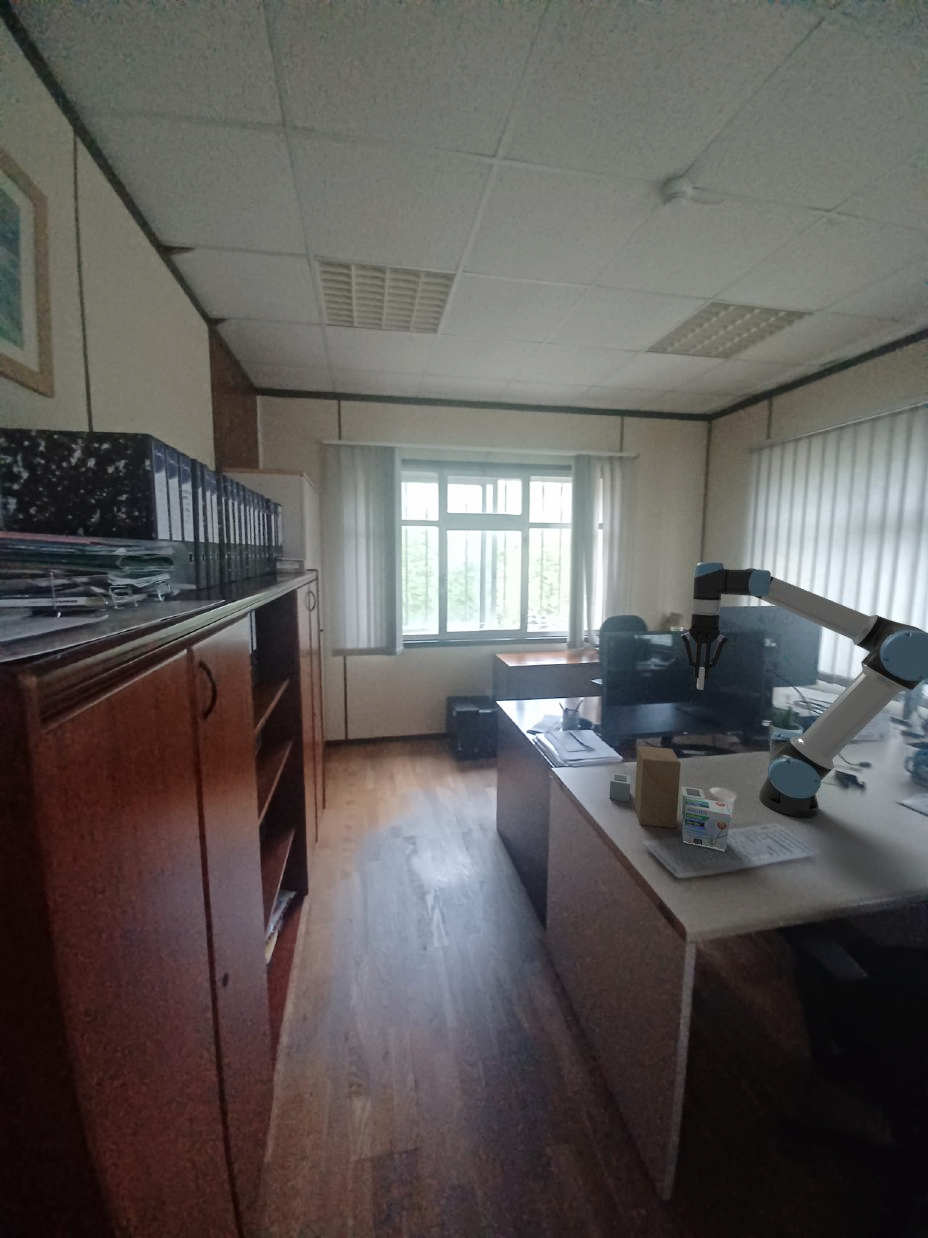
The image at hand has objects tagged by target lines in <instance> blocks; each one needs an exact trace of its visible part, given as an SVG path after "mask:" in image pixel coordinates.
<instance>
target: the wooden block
mask: <svg viewBox="0 0 928 1238" xmlns="http://www.w3.org/2000/svg"><path fill="white" fill-rule="evenodd" d="M636 753H637V754H636V769H635V771H636V773H635V789H634V803H633V804H634V805H633V807H634V809H635V813H636V816H637V819H638V823H639V825H642V826H650V827H651V826H653V827H661V828H669V829H676V828H677V819H678V808H679V807H678V804H679V788H680V776H681V761H680V760H679V758H678V756H677V754H676V753H675V752H674V749H673V748H667V747H655V746H645V745H644V746H640V745H638V746H637V752H636Z"/></svg>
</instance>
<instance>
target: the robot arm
mask: <svg viewBox="0 0 928 1238" xmlns="http://www.w3.org/2000/svg"><path fill="white" fill-rule="evenodd" d="M694 571H695V572H694V577H693V593H692V608H691V609H692V610H691V611H692V612H693V613H692V614H691V620H690V621H691V622H690V628H689V629H688V632H686V633H681V634H680V637H681V639H682V641H683V643H684V647H685V652H686V659H687V664H688V665H689V666H691V667H693V668H694V669H693V677H694V679H697V682H696V689H697V690H700V691H701V690H702V691H703V690H704V686H705V680H709V679H708V678H709V670H710V669H711V668H712V669H713V668H716V667H717V664H718V662H719V659H720V656H721V653H722V651H723V647H724V645H725V644H726V643H727V642H728V640H729V638H728V637H727V636H724V635H723V634H721V630H720V629H719V628H720V614H719V613H721V600H722V595H728V596H729V595H731V596H733V595H734V596H746V597H747V596H750V597H751V596H752V597H754V598H756V599H759V600H762V601H764V602H766V603H769V604H771V605H773V606H775V607H777V608H780V609H782V610H784V611H787V612H789V613H791V614H794V615H796V616H797V617H800V618H802V619H804V620H807V621H809V622H812V623H814V624H815V625H818V626H821V627H823V628H824V629H827V630H830V631H832V632H834V633H837V634H839V635H840V636H843V637H845V638H848V639H850V640H852V643H853V644H854V645H855V646H856V647H859V648H861V649H863V650H865V651H867V652H868V654H867V655H866V656H865V657H864V658H863V659H862V660H861V662H860V663H861V667H862V670H861V671H860V673H859V674H858V675H857V676H856V677H855V678H854V679H853V680H852V682H851V683H850V684H848V686H847V687H846V688H845V689H844V690H843V691H842V692H841V693H840V694H839V695H838V696H837V698H836V699H835V700H833V701H832V703H831V704H830V705H829V706H828V707H827V708H826V709H825V710H824V711H823V712H822V713H821V715H819V717H818V718H817V719H816V720H815V721H814V722H813V723H812V724H811V725H810V726H809V727H808V729H806V731H805V732H804V733H800V732H795V731H794V732H793V731H789V730H788V731H787V730H777V731H774V732H772V735H771V738H770V740H771V742H770V752H769V753H770V755H769V760H768V761H769V763H768V767H767V777H766V778H765V781H764V783H763V785H762V786H761V788H760V790H759V800H760V802H761V803H762V804H763V805H764V806H766V807H767V808H770V809H771V810H773V811H775V812H777V813H780V814H783V815H786V816H791V817H795V818H796V817H797V818H804V819H805V818H806V819H807V818H813V817H816V816H817V815H818V814H819V802H818V799H817V795H816V794H817V793H818V792H819V789H820V788H821V786H822V781H823V779H824V778H826V777H827V776H828V774H829V773H830V772H831V771H833V770H834V769H835V765H834V761H833V760H834V759H835V757H836V756H838V755H839V754H840V753H841V751H843V749H845V747H846V746H848V744H849V743H850V742H852V741H853V739H855V737H857V736H858V735H859V734H860V733H861V731H863V729H865V728H866V727H867V726H868V724H870V722H871V721H873V719H874V718H875V717H877V716H878V715H879V714H880V713H881V712H882V710H883V709H885V707H886V706H887V705H888V704H890V702H891V701H892V700H894V699H895V698H896V696H897V695H899V694H900V693H903V692H913V690H914V689H915V688H916V687H917V686H919V685H920V684H921V682H922V681H924V680H928V631H925V630H923V629H921V628H919V627H917V626H914V625H911V624H905V623H901V622H898V621H895V620H891V619H887V618H885V617H884V616H883V617H882V616H880V615H878V614H874V615H868V614H865V613H862V612H860V611H858V610H855V609H853V608H851V607H849V606H846V605H843V604H841V603H838V602H836V601H834V600H831V599H828V598H826V597H824V596H821V595H818V594H816V593H814V592H811V591H809V590H806V589H804V588H801V587H799V586H797V585H794V584H791V583H790V582H786V581H785V580H782V579H779V578H777V577H775V576H772V573H771V571H770V570H768V569H757V568H752V567H749V568H744V569H729V568H728V569H727V568H725V567H724V563H723V562H710V561H709V562H708V561H707V562H704V561H703V562H702V561H701V562H698V563H697V564H696V565H695V570H694ZM691 638H692V639H693V640H694V642H695V653H694V660H693V655H692V650H691V649H692V648H691V645H690V641H689V640H690V639H691ZM716 639H717V641H718V642H717V644H716V646H715V649H714V652H713V654H712V657H711V650H712V649H711V648H712V643H714V641H716ZM703 644H704V654H703V655H704V656H703V666H701V655H702V654H701V653H702V645H703Z"/></svg>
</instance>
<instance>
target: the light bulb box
mask: <svg viewBox="0 0 928 1238" xmlns="http://www.w3.org/2000/svg"><path fill="white" fill-rule="evenodd" d="M729 826H730V811H729V807H728V804H727V802H724V801H723V802H722V801H716V800H710V799H706V798H705V799H701V798H695V797H690V796H685V800H684V811H683V814H682V823H681V837H682V838H683V839H682V842H683V841H686V842H688V843H695V844H701V845H705V846H710V847H717V848H719V849H726V850H727V844H728V834H729Z"/></svg>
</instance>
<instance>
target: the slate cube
mask: <svg viewBox="0 0 928 1238" xmlns="http://www.w3.org/2000/svg"><path fill="white" fill-rule="evenodd" d="M630 793H631V775H629V774H628V775H627V774H622V773H614V772H610V783H609V799H611V800H616V801H621V802H622V801H623V802H630Z"/></svg>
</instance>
